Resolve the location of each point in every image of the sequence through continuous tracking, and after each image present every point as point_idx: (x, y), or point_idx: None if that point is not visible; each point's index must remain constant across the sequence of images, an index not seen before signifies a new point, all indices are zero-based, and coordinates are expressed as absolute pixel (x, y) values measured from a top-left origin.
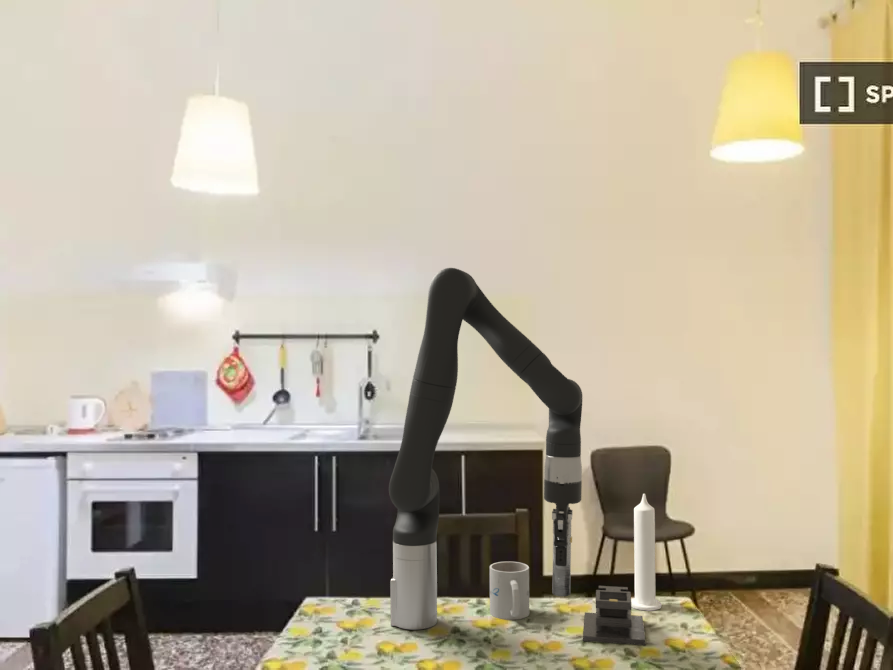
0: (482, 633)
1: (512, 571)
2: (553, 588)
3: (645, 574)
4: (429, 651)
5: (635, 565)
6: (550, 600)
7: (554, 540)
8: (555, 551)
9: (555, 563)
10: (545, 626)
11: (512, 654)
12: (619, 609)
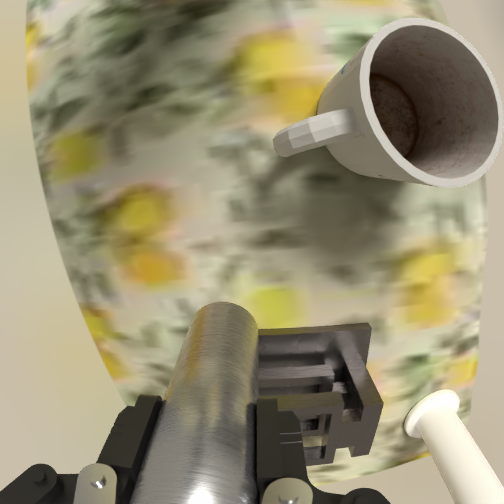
0: (190, 72)
1: (476, 118)
2: (199, 317)
3: (439, 464)
4: (69, 14)
5: (464, 457)
6: (472, 227)
7: (9, 484)
8: (151, 440)
9: (138, 397)
10: (283, 232)
11: (77, 180)
12: (319, 418)
